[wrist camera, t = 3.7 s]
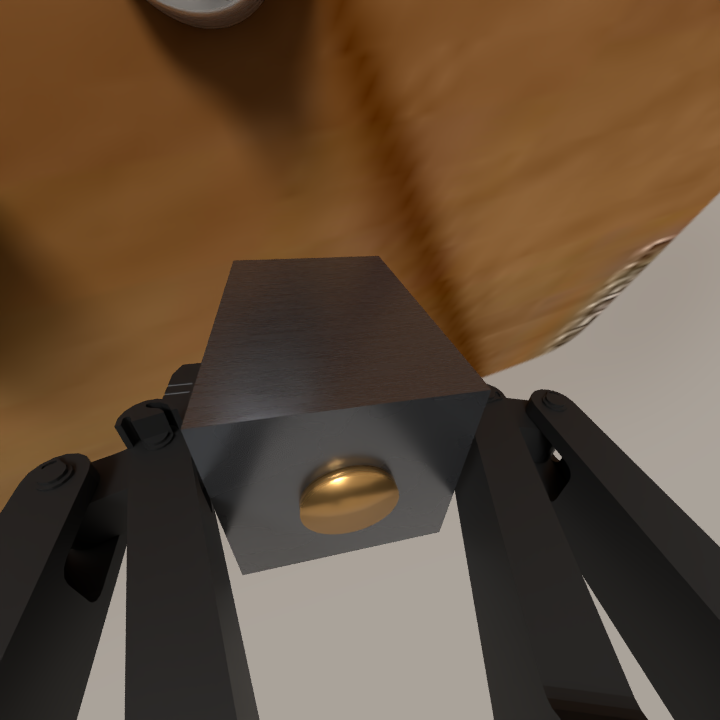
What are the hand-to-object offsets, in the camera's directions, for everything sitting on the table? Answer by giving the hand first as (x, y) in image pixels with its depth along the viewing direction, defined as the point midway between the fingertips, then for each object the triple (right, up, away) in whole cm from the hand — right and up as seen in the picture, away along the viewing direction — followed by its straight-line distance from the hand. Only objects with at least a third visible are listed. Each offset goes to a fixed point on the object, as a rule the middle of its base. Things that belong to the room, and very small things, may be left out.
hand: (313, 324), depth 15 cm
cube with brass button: (0, 0, 0) cm, 0 cm away
